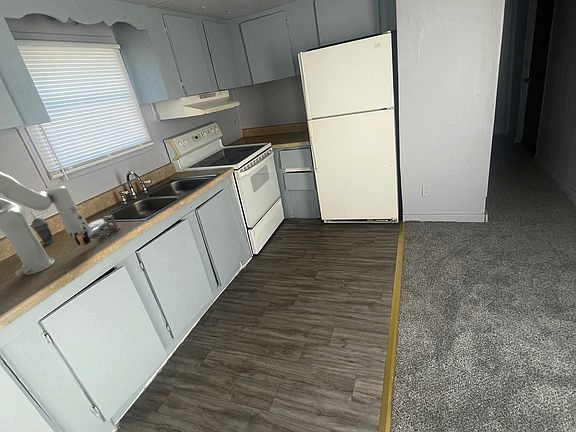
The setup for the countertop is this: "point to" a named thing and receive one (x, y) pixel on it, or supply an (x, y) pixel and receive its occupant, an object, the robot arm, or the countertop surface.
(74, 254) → the countertop surface
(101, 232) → the cradle
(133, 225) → the countertop surface
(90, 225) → the ramekin
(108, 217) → the eye post
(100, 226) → the hook rod
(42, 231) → the beverage cup
